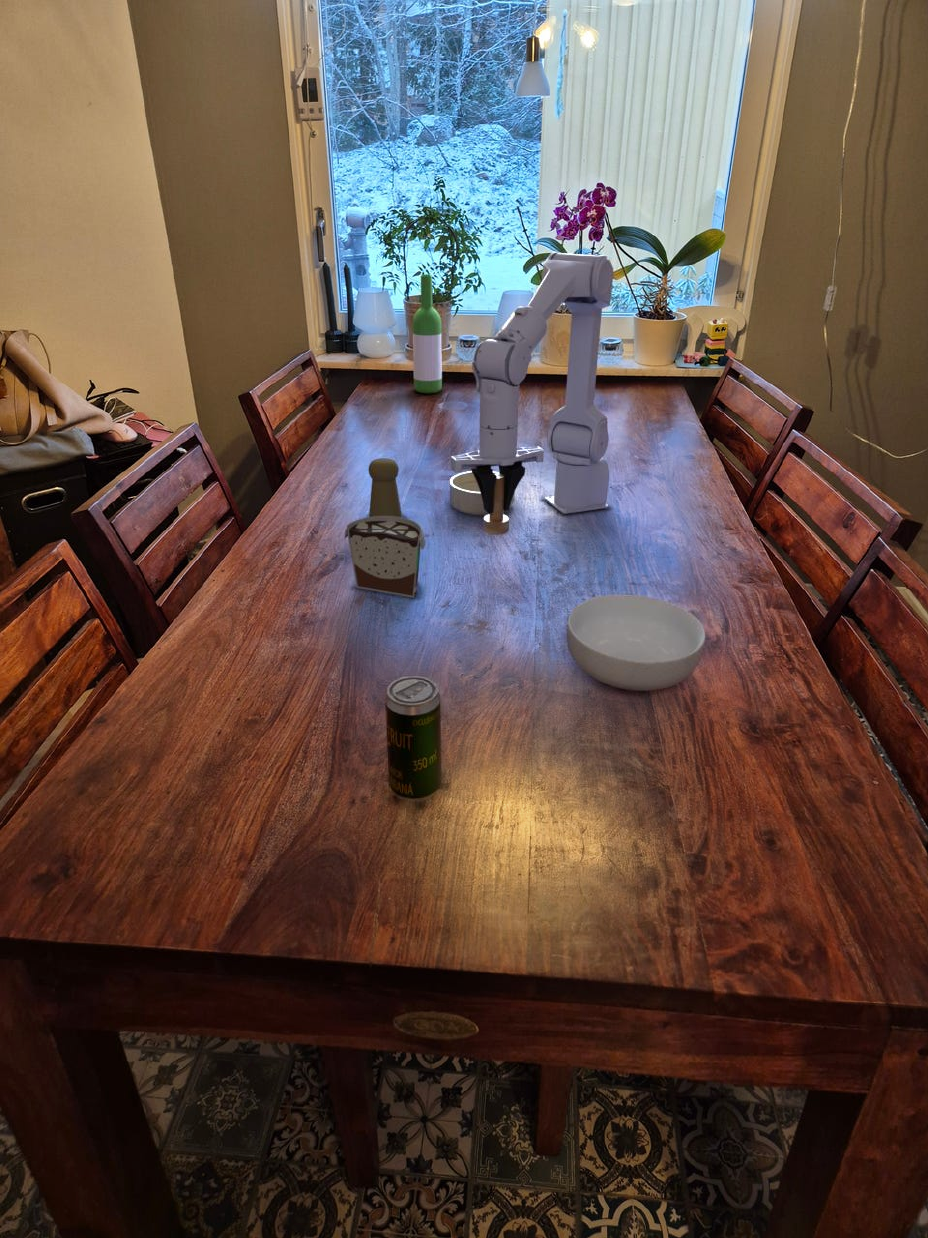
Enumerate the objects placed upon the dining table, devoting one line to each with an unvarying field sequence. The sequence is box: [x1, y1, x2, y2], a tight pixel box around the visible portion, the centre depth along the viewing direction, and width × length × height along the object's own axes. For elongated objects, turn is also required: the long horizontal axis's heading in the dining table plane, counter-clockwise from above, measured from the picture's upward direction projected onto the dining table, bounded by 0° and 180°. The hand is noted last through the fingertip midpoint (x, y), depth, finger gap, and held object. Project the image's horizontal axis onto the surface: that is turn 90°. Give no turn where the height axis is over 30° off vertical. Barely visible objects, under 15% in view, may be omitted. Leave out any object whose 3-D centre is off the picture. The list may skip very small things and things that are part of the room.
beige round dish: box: [449, 470, 516, 516], centre depth 152 cm, size 12×12×4 cm
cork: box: [368, 457, 403, 518], centre depth 143 cm, size 6×6×11 cm
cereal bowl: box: [566, 593, 707, 692], centre depth 101 cm, size 17×17×7 cm
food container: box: [344, 516, 426, 599], centre depth 122 cm, size 12×6×10 cm, turn 71°
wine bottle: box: [412, 273, 443, 394], centre depth 220 cm, size 8×8×30 cm
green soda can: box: [384, 675, 442, 803], centre depth 81 cm, size 5×5×12 cm
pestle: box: [482, 474, 510, 536], centre depth 128 cm, size 4×4×9 cm
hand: (496, 509), depth 128 cm, fingers closed on pestle, 2 cm apart
